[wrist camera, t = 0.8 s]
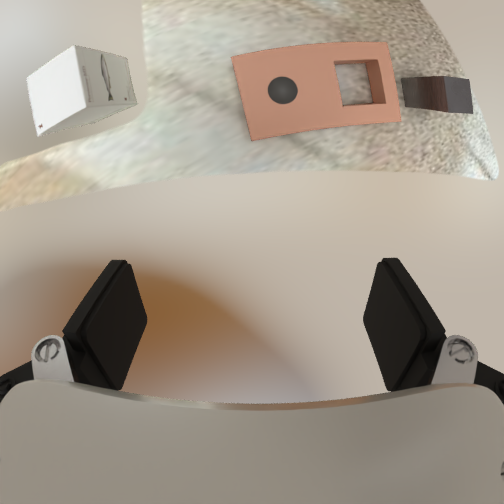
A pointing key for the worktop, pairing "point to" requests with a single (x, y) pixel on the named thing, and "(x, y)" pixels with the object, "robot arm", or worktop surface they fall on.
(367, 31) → the worktop surface
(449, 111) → the square peg
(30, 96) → the supplement box
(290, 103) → the bore block
